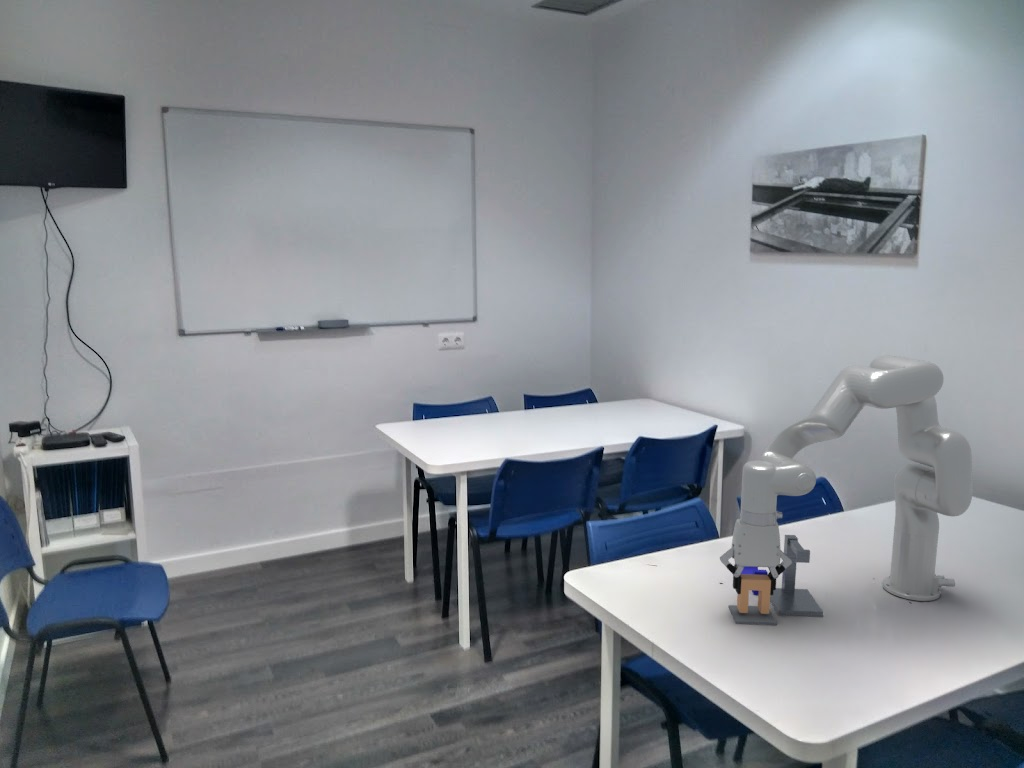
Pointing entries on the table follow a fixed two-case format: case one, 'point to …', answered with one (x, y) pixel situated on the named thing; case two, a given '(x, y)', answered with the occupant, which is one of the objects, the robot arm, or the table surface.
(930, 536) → the robot arm
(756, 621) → the mat
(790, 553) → the stand
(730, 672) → the table surface
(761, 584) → the c link
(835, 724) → the table surface
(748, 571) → the blue toy block
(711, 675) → the table surface
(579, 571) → the table surface
